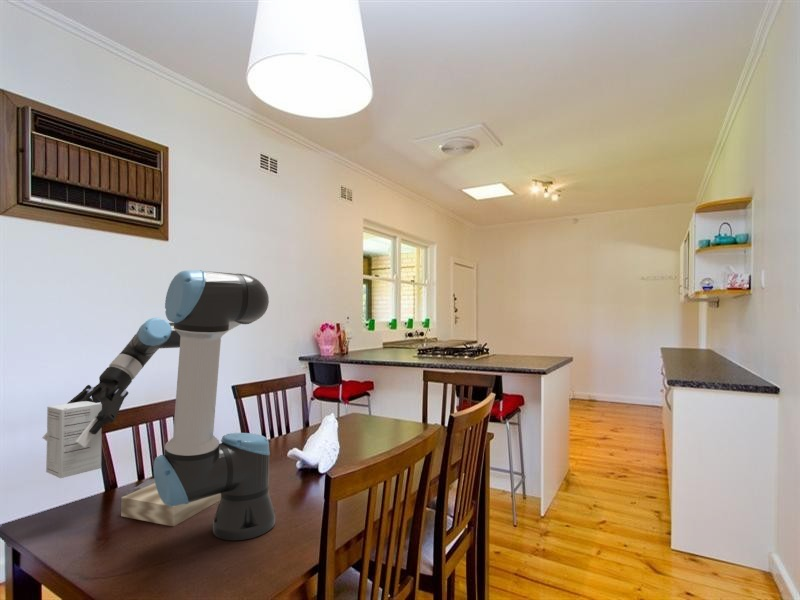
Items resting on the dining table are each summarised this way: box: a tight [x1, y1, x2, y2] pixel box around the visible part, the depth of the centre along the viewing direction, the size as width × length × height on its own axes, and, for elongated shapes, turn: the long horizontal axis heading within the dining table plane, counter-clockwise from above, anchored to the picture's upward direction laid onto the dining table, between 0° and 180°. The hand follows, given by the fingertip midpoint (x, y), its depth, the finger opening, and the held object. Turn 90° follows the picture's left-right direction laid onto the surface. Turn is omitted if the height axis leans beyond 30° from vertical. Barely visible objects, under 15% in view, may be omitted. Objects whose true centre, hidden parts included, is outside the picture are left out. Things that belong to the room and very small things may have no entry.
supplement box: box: [45, 401, 103, 479], centre depth 115 cm, size 10×9×17 cm
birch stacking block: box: [120, 483, 221, 527], centre depth 125 cm, size 18×18×5 cm
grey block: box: [126, 478, 155, 495], centre depth 134 cm, size 12×5×10 cm
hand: (63, 442), depth 112 cm, fingers closed on supplement box, 11 cm apart
